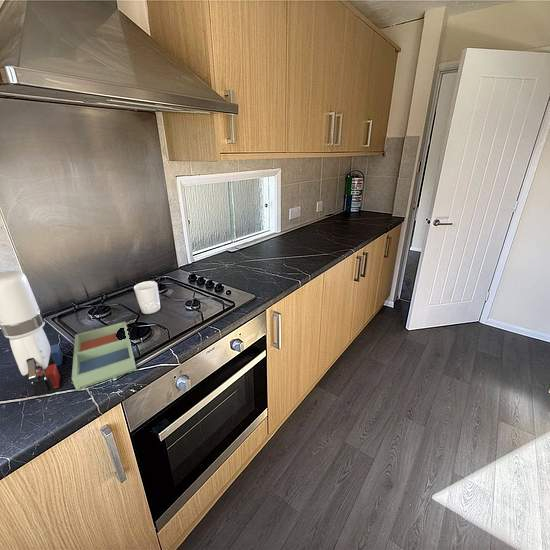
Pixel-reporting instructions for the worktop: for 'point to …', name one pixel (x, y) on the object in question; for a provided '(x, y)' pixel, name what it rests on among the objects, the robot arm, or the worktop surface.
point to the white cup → (147, 296)
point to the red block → (52, 375)
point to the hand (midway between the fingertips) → (48, 381)
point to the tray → (101, 356)
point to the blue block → (56, 354)
